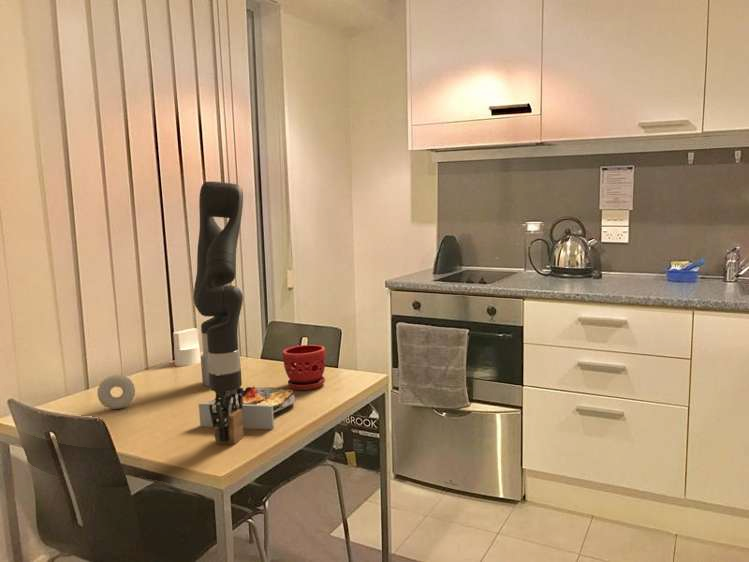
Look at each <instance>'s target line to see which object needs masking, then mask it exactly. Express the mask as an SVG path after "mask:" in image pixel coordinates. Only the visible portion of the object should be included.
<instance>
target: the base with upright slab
mask: <svg viewBox="0 0 749 562" xmlns="http://www.w3.org/2000/svg"><path fill="white" fill-rule="evenodd" d="M172 335H173V346H174V347H173V352H174V353H173V354H174V364H175V366H178V367H188V366H189V367H190V366H195V365H198V364H201V350H200V348H201V347H200V344H199V330H198V328H195V327H193V328H188V329H183V330H179V331H174V332H173V333H172Z"/></svg>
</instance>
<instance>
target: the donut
mask: <svg viewBox="0 0 749 562" xmlns="http://www.w3.org/2000/svg"><path fill="white" fill-rule="evenodd" d="M116 387H117V388H120V389H121V390H122V393H121V395H119V396H113V395H112V394H111V390H112V389H113V388H116ZM135 395H136V388H135V384H134V383H133V381H132V380H131V379H130V378H128V377H127V376H124V375H121V374H113V375H110V376H108V377H106V378H105V379H103V380H102V381H101V382H100V384H99V386H98V387H97V397H98V400H99V402H100V403H101V405H102V406H104V407H105V408H108V409H110V410H119V409H124V408H125V407H126V406H128V405H130V403H132V401H133V399H134V397H135Z"/></svg>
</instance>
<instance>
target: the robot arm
mask: <svg viewBox="0 0 749 562" xmlns="http://www.w3.org/2000/svg"><path fill="white" fill-rule="evenodd" d="M243 204H244V193H243V187H241V186H240V184H236V183H232V182H231V183H230V182H221V181H205V182H203V184H202V185H201V187H200V189H199V200H198V205H199V231H198V232H199V233H198V240H197V241H198V242H197V254H196V258H197V260H196V276H195V282H194V287H193V288H194V289H193V304H194V306H195V308H196V309H197V311H198V313H199V314H200V315H201V316H203V317H207V318H208V317H211V318H209V319H207V320H205V321H203V322H202V323H201V325H200V332H201V333H200V334H201V343H202V344H201V345H202V354H201V355H200V360H201V362H200V367H201V379H202V380H201V381H202V385H203V386H205V387H209V389H210V391H213V392H214V393H215V397H214V399H215V403H214V404H210V405H209V410H210V414H211V419H212V424H213V428H214V427H219V440H220V441H223V442H227V441H228V440H229V430H228V417H229V416H231V409H232V410H238V409H242V406H243V390H244V388H243V387H242V385H243V384H242V382H243V379H242V369H241V357H240V351H239V341H238V340H239V339H238V337H239V336H238V329H239V320H240V314H241V311H242V307H243V301H244V298H243V297H244V296H243V293H242V291H241V289H240V288H239V287H238V286H236V285H229V284H231V283H232V282H234V280H235V278H236V272H237V271H236V269H237V267H236V266H237V246H238V241H239V235H240V231H241V230H240V229H241V223H242V216H243V215H242V214H243ZM215 218H223V219H225V218H226V219H228V221H227V223H226V225H225V226H224V228H223V229H222V228H221V227H220V226H219V224H218V223H217V222H216V220H215ZM222 411H227V412H226V413H222ZM223 416H224V417H225V420H224V418H223ZM216 419H217V421H216Z"/></svg>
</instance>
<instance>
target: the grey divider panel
mask: <svg viewBox="0 0 749 562" xmlns="http://www.w3.org/2000/svg"><path fill="white" fill-rule="evenodd" d="M210 404H214V403H208V402H199V403H198V412H199V413H198V414H199V426H200V427H213V424H212V419H211V414H210V410H209V405H210ZM274 419H275V418H274V413H273V405H251V404H243V406H242V420H243V429H256V430H257V429H258V430H274V429H275V420H274ZM213 428H214V427H213Z"/></svg>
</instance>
